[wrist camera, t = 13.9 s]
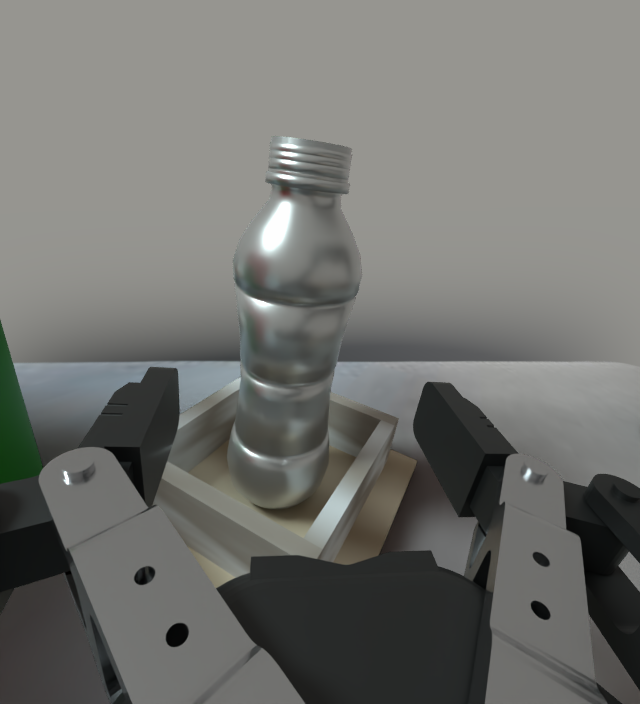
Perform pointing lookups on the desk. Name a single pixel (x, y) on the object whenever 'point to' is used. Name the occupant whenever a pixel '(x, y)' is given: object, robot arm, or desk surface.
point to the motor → (14, 425)
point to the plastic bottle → (291, 322)
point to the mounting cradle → (290, 523)
